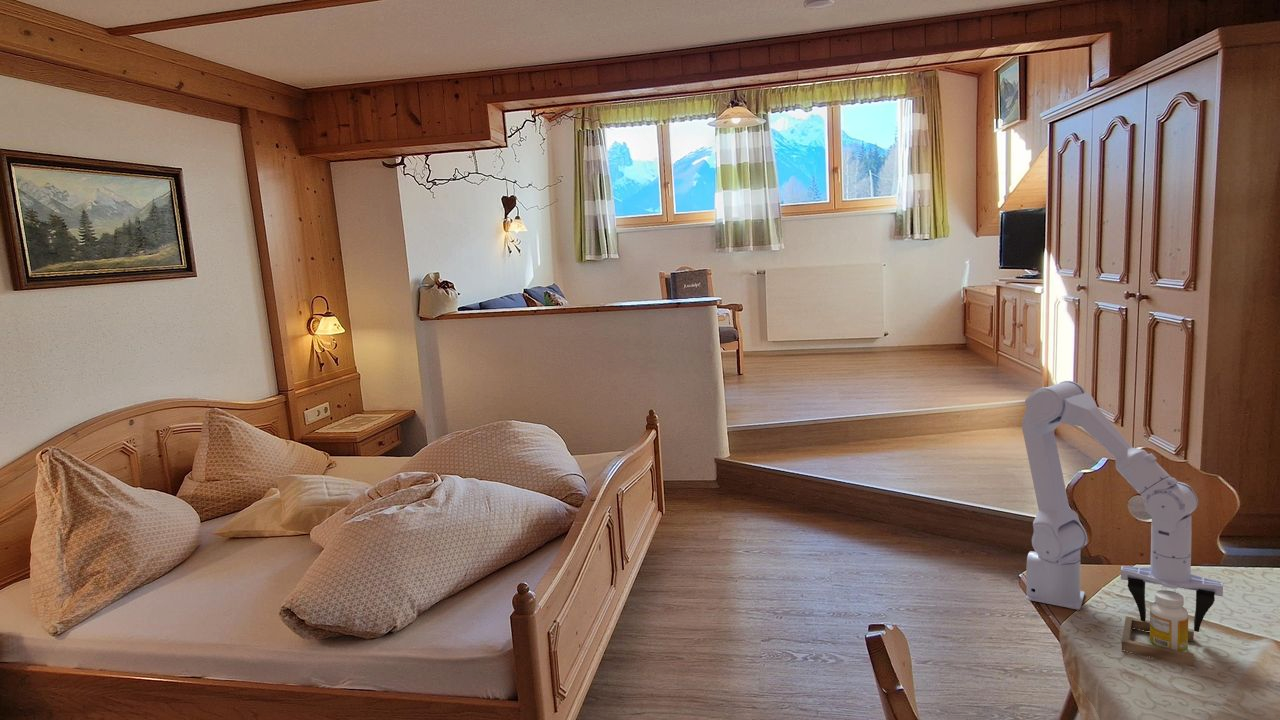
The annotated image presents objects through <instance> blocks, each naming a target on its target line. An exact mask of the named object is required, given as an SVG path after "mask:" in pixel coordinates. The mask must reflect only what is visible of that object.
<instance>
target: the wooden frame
mask: <svg viewBox="0 0 1280 720" xmlns="http://www.w3.org/2000/svg"><path fill="white" fill-rule="evenodd" d="M1132 628H1135V629H1140V630H1144V631H1150V620H1146V619H1145V621H1141V619H1140V618H1138V617H1137V618H1136V617H1133V616H1132V617H1131V616H1126V615H1125V618H1124V625H1123V631H1122V637H1121V650H1125V651H1128V652H1127V653H1129V652H1132V653H1131V654H1134V653H1135V655H1138V654H1139V656H1143V657H1147V656H1148V658H1152V657H1153V659H1157V660H1163V661H1167V662H1171V663H1175V664H1180V665H1184V666H1187V667H1194V664H1195V663H1194V661H1195V660H1194V658H1195V655H1194V653H1192V652H1188V651H1187V652H1183V651H1178V650H1173V649H1169V648H1164V647H1159V646H1155V645H1151V644H1150V643H1145V642H1140V641H1134V640H1131V638H1130V637H1131V636H1132V631H1131V630H1133V629H1132ZM1144 631H1143V632H1144ZM1194 634H1195V631H1194V628H1189V627H1188V641H1189V642H1195V641H1194V639H1195V637H1194V636H1195V635H1194ZM1125 651H1124V652H1125ZM1149 656H1150V657H1149Z"/></svg>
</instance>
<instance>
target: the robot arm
mask: <svg viewBox="0 0 1280 720" xmlns="http://www.w3.org/2000/svg"><path fill="white" fill-rule="evenodd" d="M1024 401H1025V407H1026V408H1025V412H1024V414H1023V418H1022V421H1021V429H1022V434H1023V439H1024V444H1025V448H1026V454H1027V458H1028V463H1029V469H1030V473H1031V478H1032V482H1033V483H1032V484H1033V488H1034V493H1035V498H1036V503H1037V509H1038V511H1037V514H1036V516H1035V518H1034V519H1033V522H1032V527H1033V528H1032V529H1033V533H1032V537H1031V545H1032V548H1033V550H1034V551H1032V550H1031V551H1029V552H1028V553H1027V556H1026V564H1025V565H1026V567H1025V568H1026V575H1025V576H1026V577H1025V578H1026V583H1025V584H1026V585H1025V586H1026V596H1025V599H1026V600H1027V601H1028V600H1029V601H1033V602H1038V603H1042V604H1048V605H1052V606H1059V607H1062V608H1066V609H1067V608H1068V609H1071V610H1072V609H1073V610H1077V611H1079V610H1081V608H1082V604H1083V601H1084V597H1085V594H1086V592H1085V591H1083V590H1081V549H1083V548H1084V547H1085V546H1086V544H1087V542H1088V534H1087V530H1086V529H1085V528H1084V526H1083V525H1082V523H1081V521H1080V518H1079V514H1078V513H1077V511H1075V510H1074V509H1073V508H1071V507H1070V504H1069V499H1068V495H1067V489H1066V485H1065V479H1064V475H1063V470H1062V465H1061V464H1062V463H1061V459H1060V455H1059V454H1060V453H1059V449H1058V444H1057V440H1056V434H1055V430H1056V429H1057V428H1058V426H1059V425H1061V424H1064V425H1071V426H1076V427H1081V428H1082V429H1083V430H1084V431H1085V432H1086V433H1087V434H1088V435H1089V436H1091V438H1093V439H1094V441H1096V442H1097V443H1098V444H1099V445H1100V446H1101V447H1103V448H1104V449H1105V451H1107V452H1108V453H1109V455H1110V456H1111V457H1113V458H1114V461H1115V470H1116V472H1118V473H1119V474H1120V475H1121V476H1122V477H1123V478H1124V480H1125V481H1126V482H1128V483H1129V485H1130V486H1131V487H1132V488H1133V489H1134V490H1135V491H1136V492H1137V493H1138V494H1139V495H1140V496H1141V497H1142V498H1143V499H1144V500H1145V501H1144V509H1145V510H1146V512H1147V514H1148V515H1149V516H1150V518H1151V525H1150V528H1151V529H1150V534H1151V535H1150V567H1145V566H1142V567H1141V566H1127V565H1121V568H1120V580H1122V581H1127V588H1128V590H1129V591H1128V592H1130V594H1131V596H1132V597H1133V599H1134V602H1135V604H1136V607H1137V610H1138V612H1139V617H1140V618H1139V619H1141V621H1145V620H1146V618H1147V615H1146V614H1147V608H1146V583H1149V584H1154V585H1155V584H1156V585H1159V586H1161V585H1162V587H1164V588H1168V589H1174V590H1176V589H1179V588H1180V589H1185V590H1190V591H1195V611H1194V619H1193V629H1194V632H1196V633H1199V632H1200V629H1201V625H1202V622H1203V619H1204V618H1205V616H1206V614H1207V612H1208V611H1209V610H1210V608H1211V607H1212V606H1213V605H1214V603H1215V601H1216V600H1215V599H1216V598H1215V597H1223V596H1224V582H1223V581H1221V580H1216V579H1210V578H1207V577H1204V576H1200V575H1197V574H1192V572H1191V565H1192V564H1191V563H1192V562H1191V561H1192V531H1193V530H1192V519H1193V518H1192V515H1191V514H1192V513H1193V512H1194V511H1195V510H1196V509H1197V507H1198V505H1199V498H1198V496H1197V494H1196V492H1195V491H1194V490H1193V488H1192V487H1191V485H1189V484H1188V483H1185V482H1182V481H1178V480H1177V479H1176V478H1175V477H1172V476H1171V475H1170V474H1169V473H1168V472H1167V471H1166V470H1165V469H1164V468H1163V467H1162V466H1161V464H1159V463H1158V461H1156V460H1157V457H1156V456H1155V455H1154V453H1151V452H1150V453H1148V452H1147V451H1146V450H1145V449H1141V448H1134V447H1133V446H1132V445H1131V444H1130V443H1129V442H1128V440H1127V439H1126V438H1125V437H1124V436H1123V435H1122V434H1121V433H1120V431H1118V429H1117V428H1116V426H1114V425H1113V423H1112V422H1111V421H1110V420H1109V419H1108V418H1107V417H1106V416H1105V414H1104V413H1103V412H1102V411H1101V409H1099V407H1098V406H1097V404H1096V402H1095V399H1094V398H1093V396H1092V395H1091V394H1090V393H1088V392H1086V391H1085V388H1084V387H1082V385H1080V384H1079V383H1078V382H1075V381H1072V380H1063V381H1060V382H1059V383H1057V384H1053V385H1050V386H1049V385H1048V386H1046V387H1040V388H1038V389H1035V390H1034V391H1032V393H1031V394H1029V396H1028V397H1027V398H1026V399H1025V400H1024Z"/></svg>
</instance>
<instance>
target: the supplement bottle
mask: <svg viewBox="0 0 1280 720" xmlns="http://www.w3.org/2000/svg"><path fill="white" fill-rule="evenodd" d="M1184 601H1185V600H1184V596H1183V595H1182V594H1181V593H1179V592H1176V591H1172V590H1166V589H1161V590H1156V591H1155V593H1154V602H1151V604H1150V606H1149V621H1150V633H1149V644H1150V645H1155V646H1159V647H1164V648H1169V649H1173V650H1178V651H1183V652H1188V648H1189V647H1188V646H1189V645H1188V644H1189V643H1188V628H1189V611H1188V610H1187V609H1186V608H1185V607H1184V604H1185V603H1184Z"/></svg>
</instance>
